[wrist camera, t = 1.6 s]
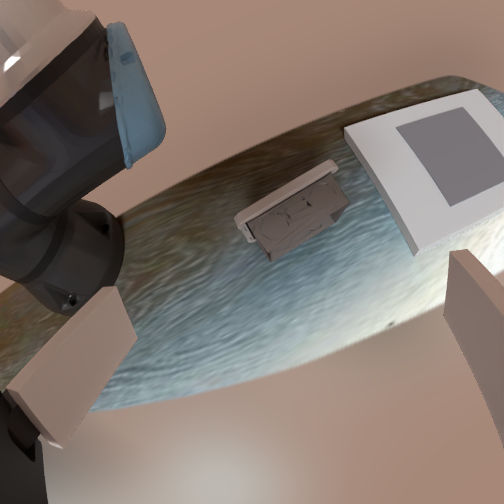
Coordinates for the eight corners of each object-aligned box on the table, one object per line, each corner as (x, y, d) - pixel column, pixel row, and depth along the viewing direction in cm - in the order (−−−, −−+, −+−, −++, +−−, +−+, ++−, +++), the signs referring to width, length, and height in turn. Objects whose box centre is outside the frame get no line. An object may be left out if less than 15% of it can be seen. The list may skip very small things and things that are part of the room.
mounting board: (414, 257, 29) (419, 248, 27) (344, 138, 35) (344, 126, 33) (543, 189, 26) (550, 179, 24) (473, 98, 33) (477, 87, 31)
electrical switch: (321, 192, 34) (320, 141, 25) (350, 230, 32) (360, 188, 23) (245, 238, 34) (220, 200, 25) (271, 280, 32) (253, 254, 23)
